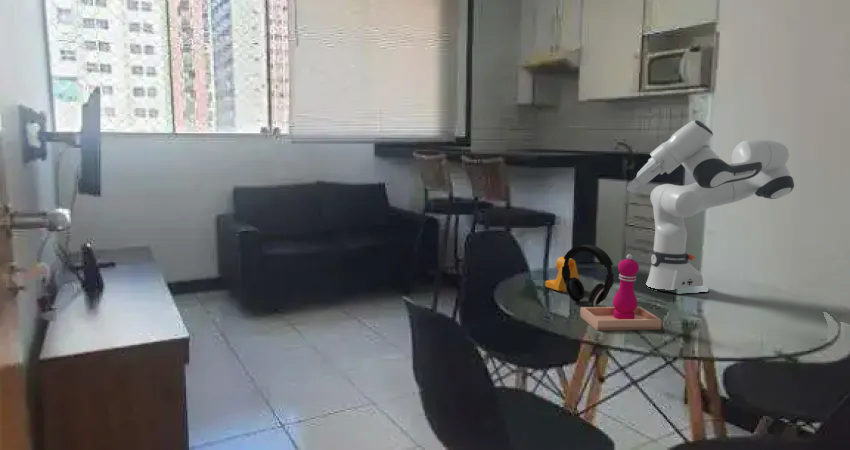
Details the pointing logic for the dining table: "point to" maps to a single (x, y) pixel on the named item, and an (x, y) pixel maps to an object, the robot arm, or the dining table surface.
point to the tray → (606, 321)
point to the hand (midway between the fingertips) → (628, 188)
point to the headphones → (575, 285)
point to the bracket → (559, 281)
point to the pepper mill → (626, 289)
